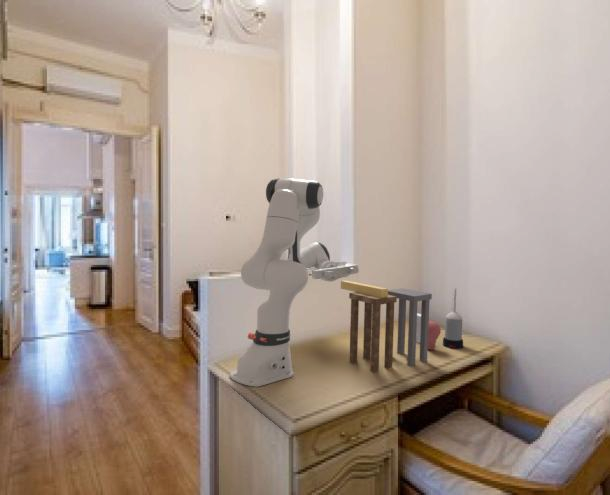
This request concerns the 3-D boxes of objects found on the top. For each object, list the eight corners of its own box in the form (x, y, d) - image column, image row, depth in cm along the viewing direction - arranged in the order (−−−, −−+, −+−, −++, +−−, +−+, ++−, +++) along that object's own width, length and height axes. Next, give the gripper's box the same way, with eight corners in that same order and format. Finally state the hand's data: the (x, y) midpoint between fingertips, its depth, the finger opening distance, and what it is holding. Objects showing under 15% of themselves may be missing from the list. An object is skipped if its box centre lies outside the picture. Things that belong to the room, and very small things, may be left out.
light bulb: (440, 353, 157) (442, 324, 157) (422, 351, 159) (423, 322, 158) (438, 347, 164) (439, 319, 163) (421, 346, 166) (422, 318, 165)
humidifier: (449, 349, 163) (452, 290, 161) (439, 343, 171) (441, 286, 169) (467, 348, 164) (469, 289, 163) (455, 342, 172) (458, 286, 171)
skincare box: (426, 342, 172) (427, 315, 171) (420, 343, 170) (421, 316, 169) (415, 338, 177) (416, 312, 176) (409, 340, 175) (410, 313, 174)
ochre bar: (340, 288, 154) (340, 281, 154) (346, 287, 155) (346, 280, 155) (381, 297, 136) (382, 289, 136) (387, 297, 138) (388, 288, 137)
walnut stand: (347, 361, 146) (349, 292, 144) (366, 356, 152) (368, 290, 150) (374, 373, 135) (376, 299, 133) (394, 367, 140) (396, 296, 139)
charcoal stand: (383, 355, 153) (385, 290, 151) (400, 351, 159) (402, 288, 157) (411, 367, 141) (414, 296, 140) (429, 361, 147) (431, 293, 146)
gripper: (306, 267, 167) (317, 267, 154) (349, 261, 174) (363, 261, 161) (307, 281, 167) (319, 283, 154) (350, 275, 174) (365, 276, 161)
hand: (342, 272), depth 157 cm, fingers open, 8 cm apart
